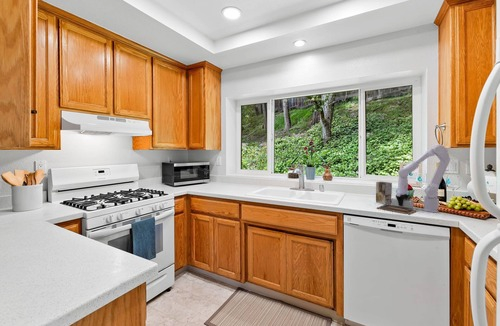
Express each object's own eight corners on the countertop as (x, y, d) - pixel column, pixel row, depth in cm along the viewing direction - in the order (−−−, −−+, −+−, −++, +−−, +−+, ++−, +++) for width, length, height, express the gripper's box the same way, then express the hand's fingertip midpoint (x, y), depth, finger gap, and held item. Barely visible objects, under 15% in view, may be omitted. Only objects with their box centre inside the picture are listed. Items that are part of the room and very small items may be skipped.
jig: (385, 205, 176) (385, 203, 176) (416, 211, 160) (416, 208, 160) (376, 208, 168) (376, 206, 168) (408, 214, 152) (408, 211, 152)
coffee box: (391, 204, 182) (392, 182, 181) (385, 204, 180) (385, 183, 179) (381, 201, 191) (382, 181, 190) (375, 202, 189) (375, 181, 188)
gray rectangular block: (394, 205, 177) (394, 196, 176) (413, 208, 167) (413, 199, 167) (391, 206, 174) (391, 197, 173) (410, 210, 164) (410, 200, 164)
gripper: (400, 184, 177) (400, 202, 178) (392, 186, 168) (391, 205, 169) (411, 185, 171) (411, 204, 172) (403, 187, 163) (402, 207, 163)
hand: (402, 205), depth 170 cm, fingers closed on gray rectangular block, 5 cm apart
